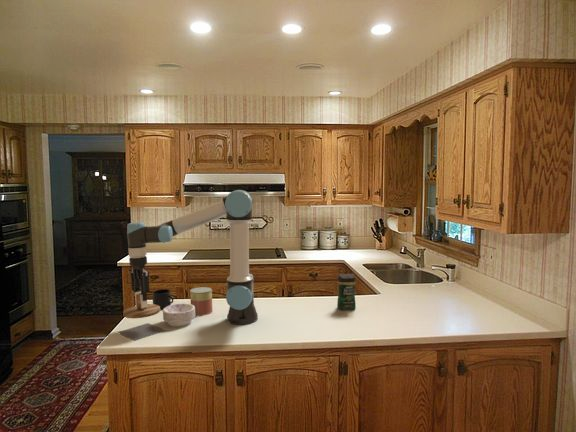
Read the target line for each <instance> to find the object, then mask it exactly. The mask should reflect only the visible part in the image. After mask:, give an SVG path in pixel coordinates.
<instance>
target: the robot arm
mask: <svg viewBox="0 0 576 432" xmlns="http://www.w3.org/2000/svg"><path fill="white" fill-rule="evenodd" d="M253 200H254V199H253V197H252V195H251V194H250V192H248V191H246V190H244V189H236V190H233V191H231V192H229V193H228V195H227V196H224V197H222V198H221V200H220V201H217V202H214V203H212V204H209V205H206V206H204V207H203V208H200V209H197V210H194V211H192V212H190V213H186V214H184V215H181V216H179V217H177V218H176V217H175V218H174V219H172V220H169V221H166V222H162V223H161V224H158V225H153V226H146V225H145V222H143V221H141V222H139V221H137V222H130V223H127V227H126V228H127V229H126V230H127V231H126V235H127V244H128V247H127V248H128V257H129V258H128V260H129V261H128V262H129V266H130V267H131V268H130V269H128V271H129V275H130V277H129V278H130V285H131V287H130V289H131V291H133V292H134V298H135V300H134V301H135V306H136V307H137V300H136V295H137V294H140V299H141V308H146V307H147V304H148V296H147V295H148V294H149V293H150V271H148V270H146V265H147V264H148V257H147V244H150V243H151V244H157V243H163V244H164V243H170V242H172V240H173V237H176V236H177V235H181V234H182V233H185V232H188V231H191V230H192V229H195V228H198V227H201V226H203V225H206V224H208V223H210V222H214V221H216V220H219V219H221V218H226V221H227V222H228V223H229V257H230V258H229V265H230V266H229V272H230V273H229V274H230V275H229V276H228V277H227V278H226V294H225V300H226V303H227V305H228V306H229V309H228V313H227V315H226V321H227V322H228V323H230V324H233V325H248V324H252V323H255V322H256V321H258V312H257V310H256V306H255V301H254V299H255V298H254V280H255V279H254V275H253V274H252V273H250V229H249V227H250V223H251V222H252V221H253V205H254V201H253Z"/></svg>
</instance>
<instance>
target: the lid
mask: <svg viewBox="0 0 576 432" xmlns="http://www.w3.org/2000/svg"><path fill="white" fill-rule="evenodd" d="M136 300H137V307H136V305H133V306H130V307H127V308H126V309H124V310H123V311H122V313H123V318H127V319H143V318H149V317H151V316H154V315H157V314H159V313H160V312H161V310H160V306H159V305H155V304H153V303H151V304H150V303H147V307H146V308H141V299H140V294H137V295H136Z"/></svg>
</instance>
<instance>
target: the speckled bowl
mask: <svg viewBox="0 0 576 432" xmlns="http://www.w3.org/2000/svg"><path fill="white" fill-rule="evenodd" d="M195 318H196V315H195V306H194V305H191V303H175V304H174V303H173V304H171V305H170V306H167V307H165V308H164V309H163V310H162V319H163V322H165V323H167V324H168V325H169V326H171V327H183V326H186V325H187V326H188V325H189V324H190V323H191V322H192V320H193V319H195Z"/></svg>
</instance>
